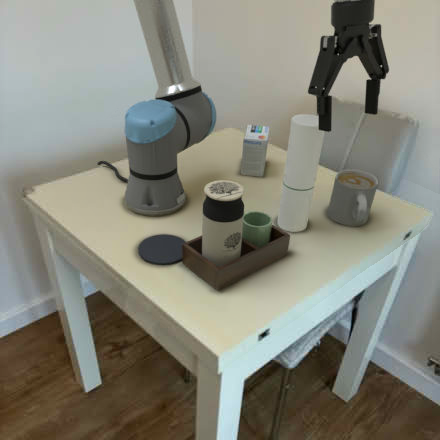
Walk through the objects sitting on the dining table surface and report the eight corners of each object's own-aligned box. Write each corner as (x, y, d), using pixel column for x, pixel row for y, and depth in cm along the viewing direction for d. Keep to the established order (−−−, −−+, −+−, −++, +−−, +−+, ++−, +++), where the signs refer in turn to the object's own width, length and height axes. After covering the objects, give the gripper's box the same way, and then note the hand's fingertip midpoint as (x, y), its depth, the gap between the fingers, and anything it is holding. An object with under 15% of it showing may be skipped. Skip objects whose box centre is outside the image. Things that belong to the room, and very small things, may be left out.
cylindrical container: (309, 219, 112) (328, 117, 96) (303, 234, 107) (323, 128, 91) (281, 214, 114) (295, 112, 97) (274, 228, 108) (288, 123, 92)
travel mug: (196, 259, 98) (196, 182, 86) (230, 252, 100) (235, 176, 88) (209, 281, 92) (212, 202, 80) (245, 273, 95) (252, 195, 83)
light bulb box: (243, 159, 137) (246, 123, 130) (266, 161, 137) (269, 125, 130) (240, 175, 129) (242, 137, 122) (263, 177, 129) (267, 140, 122)
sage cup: (233, 248, 101) (235, 217, 96) (254, 238, 105) (257, 208, 99) (253, 262, 98) (256, 230, 92) (274, 251, 101) (278, 220, 96)
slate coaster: (128, 247, 100) (128, 245, 100) (169, 231, 106) (169, 228, 105) (157, 271, 94) (157, 269, 93) (198, 252, 100) (198, 250, 99)
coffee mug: (327, 203, 118) (334, 167, 112) (365, 207, 118) (375, 171, 111) (328, 230, 108) (337, 193, 102) (371, 235, 107) (382, 197, 101)
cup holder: (182, 263, 96) (181, 243, 93) (251, 231, 107) (253, 213, 104) (217, 291, 90) (218, 271, 87) (287, 254, 100) (290, 235, 97)
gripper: (317, 8, 73) (318, 141, 85) (415, -12, 83) (403, 109, 95) (286, 10, 78) (290, 135, 90) (381, -9, 88) (374, 105, 100)
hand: (348, 121), depth 93 cm, fingers open, 13 cm apart
